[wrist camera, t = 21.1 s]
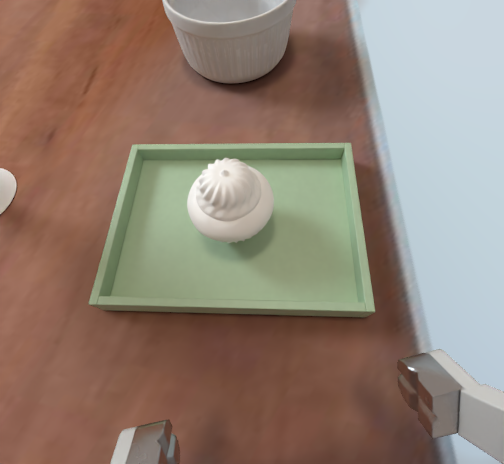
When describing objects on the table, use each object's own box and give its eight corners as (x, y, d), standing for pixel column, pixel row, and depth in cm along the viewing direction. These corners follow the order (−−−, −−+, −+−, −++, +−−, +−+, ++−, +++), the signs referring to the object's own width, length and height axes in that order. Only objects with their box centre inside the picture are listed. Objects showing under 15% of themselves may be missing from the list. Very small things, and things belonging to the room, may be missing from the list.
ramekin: (169, 36, 36) (148, -33, 30) (268, 11, 38) (268, -61, 31) (196, 107, 31) (177, 38, 24) (311, 73, 32) (322, 0, 26)
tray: (345, 158, 27) (350, 142, 25) (365, 317, 21) (375, 311, 19) (141, 159, 28) (132, 144, 26) (103, 310, 22) (87, 304, 20)
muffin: (226, 180, 26) (213, 118, 19) (287, 212, 24) (294, 155, 18) (182, 235, 24) (151, 184, 17) (245, 274, 22) (236, 234, 16)
